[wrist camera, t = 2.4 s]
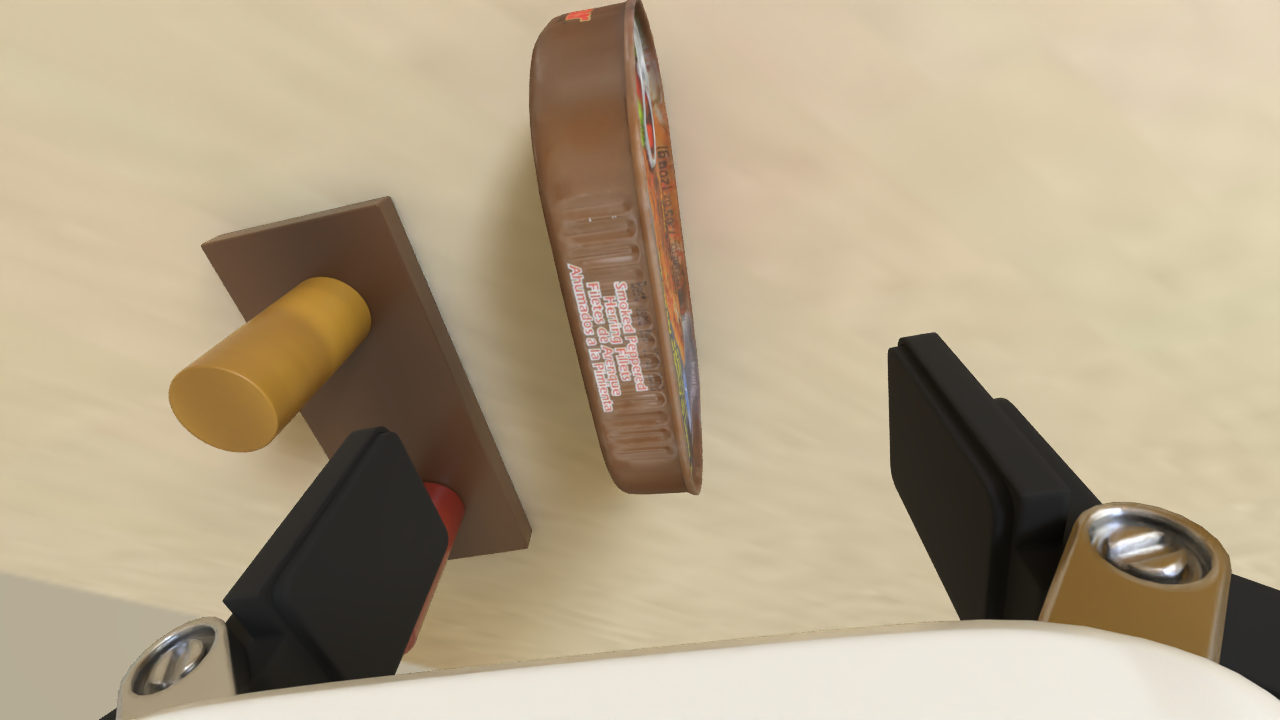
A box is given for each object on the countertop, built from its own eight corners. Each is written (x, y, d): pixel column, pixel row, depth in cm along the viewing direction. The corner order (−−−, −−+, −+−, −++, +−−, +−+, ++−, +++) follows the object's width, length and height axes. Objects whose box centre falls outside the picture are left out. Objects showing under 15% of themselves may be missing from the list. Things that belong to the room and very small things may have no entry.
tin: (703, 401, 26) (721, 552, 18) (631, 409, 26) (620, 561, 19) (653, -2, 19) (650, -17, 11) (553, 16, 19) (488, 13, 12)
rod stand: (402, 549, 31) (331, 699, 24) (220, 234, 23) (33, 326, 16) (532, 530, 30) (496, 680, 23) (390, 195, 22) (270, 274, 15)
